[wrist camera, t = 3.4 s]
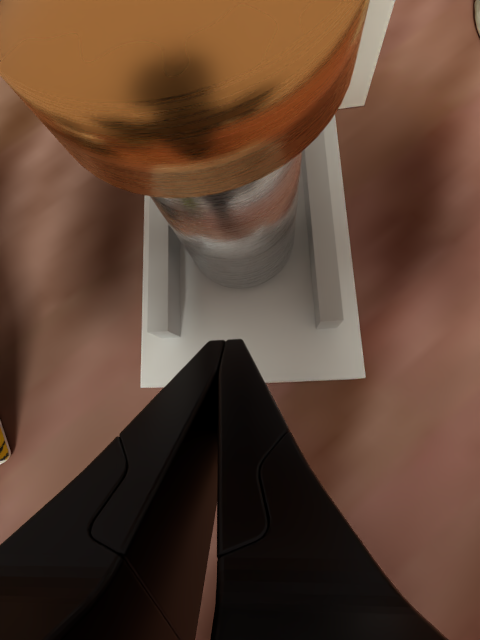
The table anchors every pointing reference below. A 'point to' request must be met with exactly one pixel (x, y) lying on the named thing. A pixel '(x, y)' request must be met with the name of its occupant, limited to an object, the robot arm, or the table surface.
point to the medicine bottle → (4, 446)
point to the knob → (191, 107)
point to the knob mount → (282, 290)
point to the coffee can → (477, 14)
